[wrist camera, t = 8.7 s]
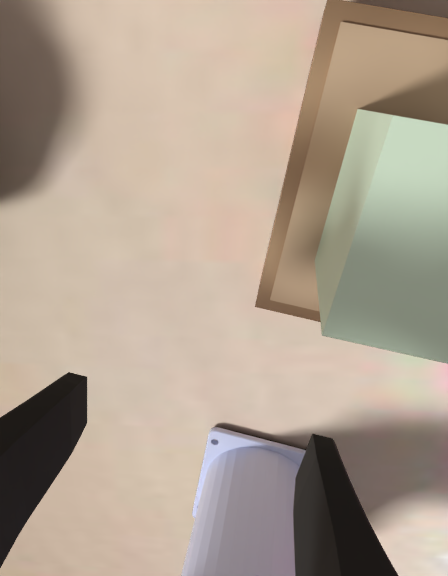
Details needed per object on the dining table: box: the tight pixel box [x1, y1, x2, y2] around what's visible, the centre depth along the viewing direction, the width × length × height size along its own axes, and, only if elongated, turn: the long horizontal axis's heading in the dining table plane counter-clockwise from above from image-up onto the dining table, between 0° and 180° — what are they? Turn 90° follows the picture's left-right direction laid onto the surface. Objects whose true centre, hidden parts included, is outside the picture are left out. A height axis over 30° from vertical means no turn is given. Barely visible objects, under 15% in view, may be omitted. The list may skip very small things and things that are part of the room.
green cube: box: [315, 109, 448, 364], centre depth 13 cm, size 6×6×6 cm
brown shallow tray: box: [255, 0, 448, 322], centre depth 17 cm, size 12×10×3 cm
